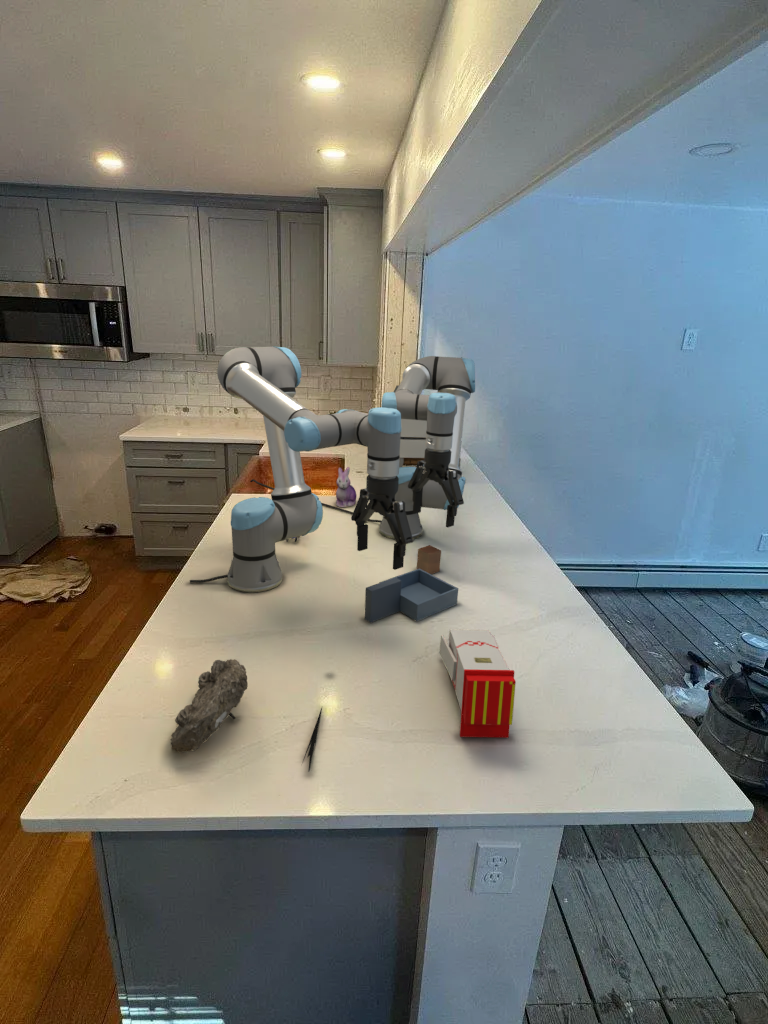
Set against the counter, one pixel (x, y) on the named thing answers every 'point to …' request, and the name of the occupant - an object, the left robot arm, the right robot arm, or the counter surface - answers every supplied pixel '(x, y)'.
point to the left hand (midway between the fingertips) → (379, 558)
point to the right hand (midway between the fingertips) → (432, 519)
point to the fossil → (210, 704)
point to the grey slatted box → (413, 441)
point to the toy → (479, 682)
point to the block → (429, 559)
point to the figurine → (345, 490)
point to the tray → (409, 596)
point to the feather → (313, 740)
